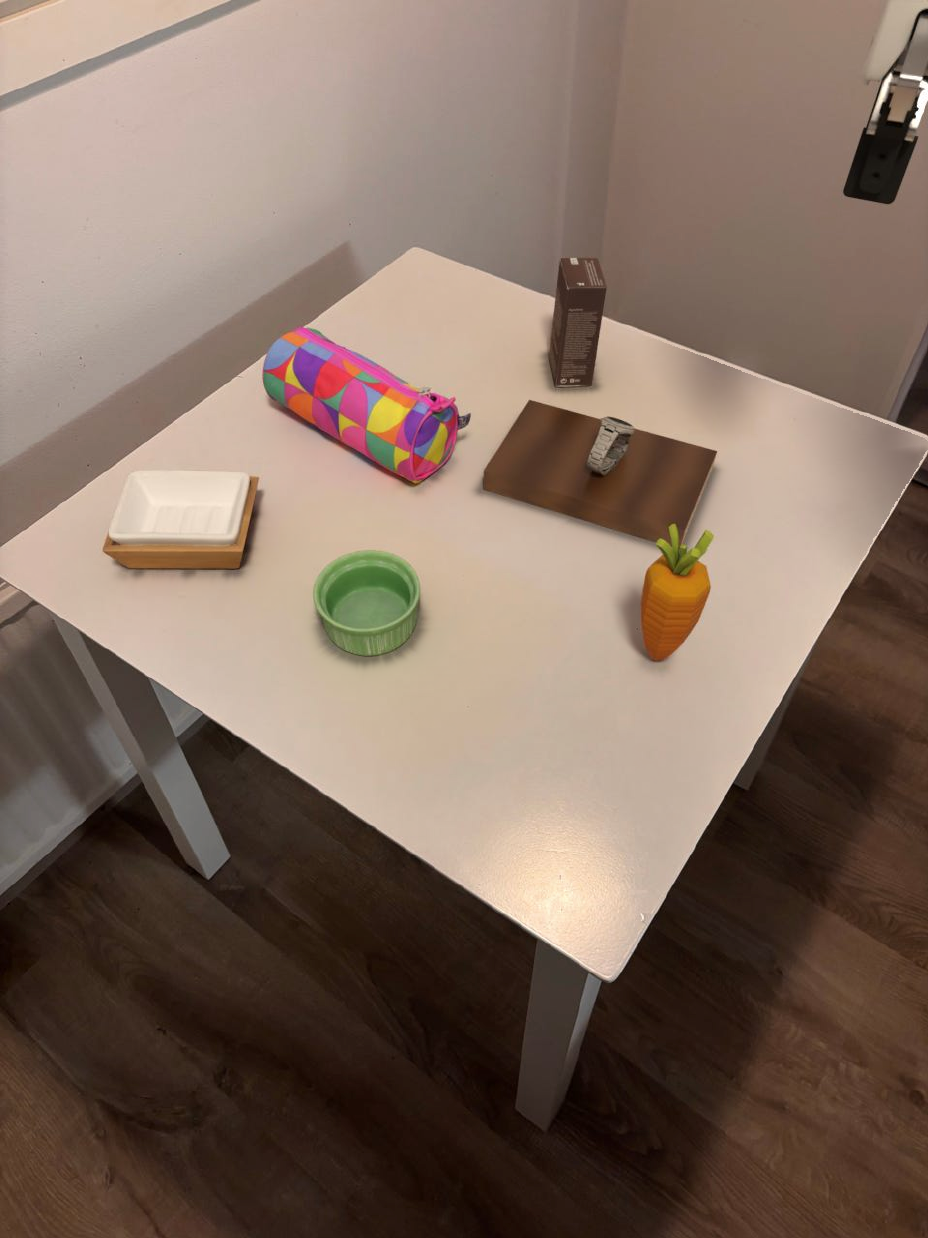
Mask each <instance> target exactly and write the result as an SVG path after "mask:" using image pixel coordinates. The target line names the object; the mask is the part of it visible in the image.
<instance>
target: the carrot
mask: <svg viewBox="0 0 928 1238" xmlns="http://www.w3.org/2000/svg"><path fill="white" fill-rule="evenodd" d="M669 531H670V535H671V540H672V547H671V546H670V545H669V543H667V542H666V541H665V540H663V539H659V540H658V541H657V542H655V545H656V547H657V548H658V549H659V550H660V552H661V555H660V556H659V557H658V558H657V559H656V560H655V561H654V562H653V563H652V564H650V565H649V567H648V568H647V569H646V571H645V575H644V581H643V584H642V585H643V586H642V591H641V592H642V593H641V599H640V625H641V635H642V639H643V644H644V647H645V650H646V652H647V653H648V655H649V657H650V658H651V659H652V660H654V661H663V660H665V659H667V658H669V657H670V656H671V655H672V654H673V653H674V652H675V651H677V650H678V649H679V648H680V647H681V646H682V645H683V644H684V643H685V642H686V640H687V639H688V637H689V636H690V635H691V633H692V632H693V630H694V628H695V627H696V625H697V624H698V622H699V621H700V618H701V616H702V613H703V611H704V609H705V606H706V604H707V600H708V598H709V595H710V592H711V588H712V586H711V580H710V576H709V573H708V567H707V565H705V564H704V563H702V562H701V561H699V560H700V559H701V558H702V556H703V555H705V554H706V553H707V552H708V548H709V546H710V544H711V543H712V541H713V540H714V534H713V533H712V532H711V530H708V529H705V530H704V532H703V533H702V535H701V536H700V538H699V539H698V541H697V542H696V544H695V546H694V547H692V548H691V549H689V550H688V545H686V544H682V545H681V546H680V549H679V537H678V531H677V527H676V524H672V525H670V526H669Z"/></svg>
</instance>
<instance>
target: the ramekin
mask: <svg viewBox="0 0 928 1238" xmlns="http://www.w3.org/2000/svg"><path fill="white" fill-rule="evenodd" d="M420 596H421V582H420V580H419V576H418V574H417V572H416V571H415V569H414V567H413V566H411V564H410V563H409V562H408V561H407V560H405V559H404V558H402V557H400V556H398V555H396V554H395V553H392V552H389V551H384V550H378V549H367V550H366V549H365V550H358V551H353V552H349V553H346V554H344V555H341V556H340V557H337V558H336V559H334V560H332V561H331V562H329V564H327V565H326V566H325V567H324V568H323V569H322V571H321V572H320V573H319V574H318V576H317V577H316V580H315V582H314V586H313V590H312V597H313V603H314V606H315V608H316V611H317V612H318V614H319V616H320V617H321V619H322V622H323V625H324V629H325V630H326V631H325V632H326V634H327V635H328V637H329V638H330V640H331V641H332V642H333V643H334V644H335V645H336V646H337V647H338V648H339V649H341V650H343V651H346V652H347V653H349V654H354V655H356V656H362V657H363V656H364V657H371V656H380V655H383V654H384V655H385V654H387V653H390V652H392V651H394V650H395V649H398V648H399V647H400V646H402V645H403V644H404V643H405V642H406V641H407V640H408V639H409V638H410V636H411V635H412V634H413V632H414V630H415V627H416V625H417V619H418V605H419V601H420Z"/></svg>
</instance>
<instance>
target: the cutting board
mask: <svg viewBox="0 0 928 1238" xmlns="http://www.w3.org/2000/svg"><path fill="white" fill-rule="evenodd" d="M600 419H601V418H598V417H594V416H592V415H591V416H590V415H587V414H583V413H580V412H577V411H573V410H569V409H565V408H561V407H557V406H554V405H550V404H547V403H543V402H539V401H536V400H532V399H529V400H528V401H527V403H526V404H525V405H524V407H523V409H522V410H521V412H520V413H519V415H518V416H517V418H516V420H515V421H514V423H513V424H512V426H511V428H510V429H509V431H508V432H507V434H506V435H505V437H504V438H503V440H502V442H501V443H500V445H499V446H498V448H497V449H496V451H495V452H494V454H493V456H492V457H491V459H490V460H489V462H488V463H487V465H486V466H485V468H484V470H483V491H484V490H485V491H487V492H491V493H493V494H497V495H500V496H503V497H507V498H510V499H513V500H517V501H519V502H523V503H527V504H529V505H532V506H537V507H540V508H542V509H547V510H549V511H553V512H555V513H560V514H562V515H566V516H569V517H573V518H576V519H579V520H582V521H586V522H588V523H592V524H595V525H598V526H601V527H604V528H609V529H610V530H611V529H612V530H616V531H619V532H622V533H625V534H627V535H631V536H635V537H637V538H641V539H645V540H648V541H650V542H654V543H657V541H658V540H659V539H663V540H665V541H666V542H667V543H669V545H670V546H671V547H672V540H671V535H670V531H669V526H670V525H672V524H676V527H677V531H678V537H679V550H680V546H681V545H683V543H684V540H685V538H686V535H687V533H688V530H689V529H690V525H691V523H692V520H693V518H694V515H695V513H696V511H697V508H698V506H699V503H700V501H701V498H702V496H703V494H704V491H705V488H706V486H707V483H708V481H709V479H710V477H711V474H712V471H713V468H714V465H715V461H716V458H717V454H718V451H717V450H715V449H711V448H708V447H703V446H700V445H696V444H694V443H693V444H692V443H689V442H686V441H682V440H678V439H674V438H671V437H667V436H663V435H660V434H656V433H653V432H650V431H645V430H642V429H638V428H635V427H634V430H635V431H634V434H632V435H631V439H630V442H629V444H628V447H627V451H626V453H625V454H624V455H623V457H622V458H621V459H620V460H619V462H618V463H617V465H616V466H615V468H614V469H613V470H612V471H609V473H607V474H606V475H601V474H599V473H597V472H594V471H592V470H591V469H590V468H589V467H588V465H587V463H588V457H589V455H590V452H591V450H592V448H593V446H594V444H595V441H596V439H597V436H598V434H599V430H600V428H601V422H600ZM613 443H614V442H613ZM612 445H613V444H612ZM612 445H611V447H612ZM611 447H610V449H611ZM610 449H609V450H610ZM609 450H608V451H609ZM607 453H608V452H607Z"/></svg>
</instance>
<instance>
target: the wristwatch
mask: <svg viewBox="0 0 928 1238" xmlns="http://www.w3.org/2000/svg"><path fill="white" fill-rule="evenodd" d="M599 419H600V422H601V428H600V430H599V434H598V436H597V439H596V441H595V444H594V446H593V448H592V450H591V452H590V455H589V457H588V463H587V465H588V467H589V468H590V469H591V470H592V471H594V472H597V473H599V474H601V475H606V474H607V473H609V471H612V470H613V469H614V468H615V466H616V465H617V463H618V462H619V460H620V459H621V458H622V457H623V455H624V454H625V453H626V451H627V447H628V444H629V442H630V439H631V435H632V434H634V431H635V430H634V428H635V426H634V425H633V424H631V423H629V422H627V421H625V420H623V419H620V418H617V417H614V416H608V415H607V416H603V417H601V418H599ZM613 442H614V443H613ZM612 444H613V445H612ZM611 445H612V447H611ZM610 447H611V449H610ZM609 449H610V450H609ZM608 450H609V451H608ZM607 452H608V453H607Z"/></svg>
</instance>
